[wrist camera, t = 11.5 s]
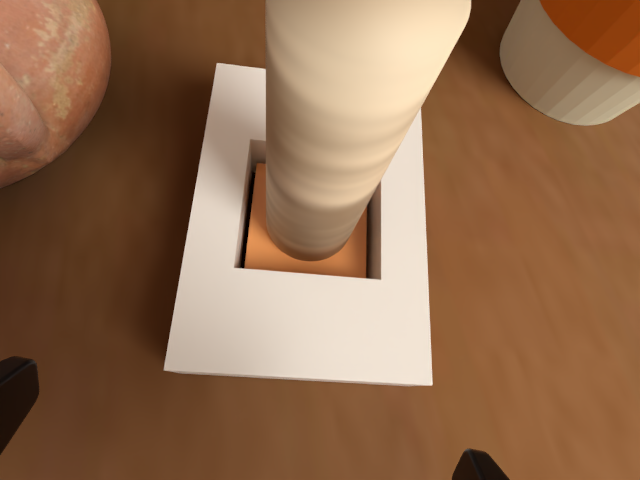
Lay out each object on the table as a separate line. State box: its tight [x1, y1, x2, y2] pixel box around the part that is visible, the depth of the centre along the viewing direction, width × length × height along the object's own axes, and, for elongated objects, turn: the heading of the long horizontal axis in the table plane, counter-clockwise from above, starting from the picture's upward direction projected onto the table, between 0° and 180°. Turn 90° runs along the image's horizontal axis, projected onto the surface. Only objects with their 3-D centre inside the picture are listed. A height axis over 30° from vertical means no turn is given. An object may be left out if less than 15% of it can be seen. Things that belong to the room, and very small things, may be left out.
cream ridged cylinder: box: [266, 0, 471, 261], centre depth 13 cm, size 4×4×12 cm
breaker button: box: [244, 163, 367, 278], centre depth 20 cm, size 5×5×2 cm
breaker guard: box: [164, 63, 432, 386], centre depth 19 cm, size 14×10×3 cm
